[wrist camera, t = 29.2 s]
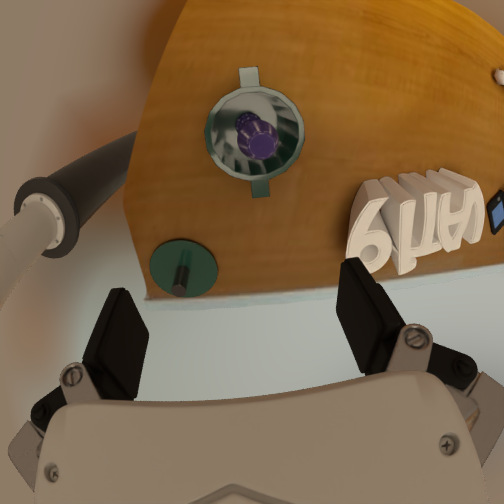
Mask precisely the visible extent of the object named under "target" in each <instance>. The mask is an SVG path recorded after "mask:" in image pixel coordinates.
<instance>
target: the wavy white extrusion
mask: <svg viewBox="0 0 504 504" xmlns="http://www.w3.org/2000/svg"><path fill="white" fill-rule="evenodd" d="M398 180H399V184H398V183H396V182H395V181H394V180H393V179H392V178H391V177H383V178H381V179H380V180H379V181H378V180H377V179H372V180H367V181H364V182H363V184H362V185H361V187H360V188H359V190H358V192H357V194H356V196H355V199H354V202H353V205H352V208H351V213H350V222H349V232H348V241H347V249H346V258H352V257H359V258H360V260H361V261H362V262H363V264H364V265H365V267H366V268H367V270H368V271H369V273H373V272H375V271H377V270H378V269H380V268H381V267H382V266H383V265H384V264H385V263H386V261H387V260H388V259H389V257H390V255H391V257H392V260H393V262H394V264H395V267H396V269H397V272H398V274H399V275H402V274H405V273H407V272H409V271H411V270H412V269H414V268H415V267H416V263H417V261H416V259H415V257H419V256H423V255H427V254H430V253H433V252H436V251H438V250H441V248H442V247H443V248H444V249H445V250H446V251H447V252H450V251H451V250H456V249H458V248H460V244H461V238H462V237H463V238H464V239H465V240H466V241H468V242H469V243H470V244H472V243H475V242H478V241H479V240H480V237H481V234H482V230H483V224H484V213H485V211H484V200H483V195H482V192H481V190H480V187H479V185H478V183H477V182H476V181H474V180H472V179H469V178H467V177H464V176H462V175H459V174H457V173H454V172H452V171H449V170H446V169H444V168H440V170H439V171H438V172H436V171H434V170H427V171H426V178H425V177H423V176H422V175H420V174H418V173H416V172H412V173H409V174H406V173H402V174H399V175H398ZM380 208H381V214H380V211H379V209H380Z"/></svg>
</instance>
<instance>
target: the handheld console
mask: <svg viewBox="0 0 504 504" xmlns="http://www.w3.org/2000/svg"><path fill="white" fill-rule="evenodd" d="M487 210H488V215H489V220H490V225H491V230H492V234H493V235H495V234H496V233H497V232H498V231H499V230H500V229H501V228H502V227H503V225H504V192H503V191H502V190H499V192H498V193H497V194H496V195H495V196H494V198H493V199H492V200H491V201H490V202H489V203H488V205H487Z"/></svg>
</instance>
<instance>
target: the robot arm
mask: <svg viewBox="0 0 504 504" xmlns="http://www.w3.org/2000/svg"><path fill="white" fill-rule="evenodd" d="M64 235H65V221H64V217H63V214H62V212H61V210H60V208H59V207H58V205H57V204H56V203H55V201H54V200H53V199H51V198H50V197H49V196H47V195H45V194H42V193H33V194H31V195H29V196H28V197H27V198H26V199H25V200H24V201H23V203H22V205H21V209H20V212H19V213H18V214H17V215H15V216H14V217H13V218H12V219H11V220H9V221H8V222H7V223H6V224H5V225H4V226H2V227H1V228H0V310H1V308H2V306H3V304H4V302H5V301H6V299H7V297H8V296H9V294H10V293H11V292H12V290H13V289H14V287H15V286H16V285H17V283H18V282H19V281H20V280H21V278H22V277H23V276H24V274H25V273H26V272H27V271H28V269H29V268H30V267H31V266H32V265H33V263H34V262H35V261H36V260H37V258H38V257H39V256H40V255H41V254H42V253H43V252H44V250H45V249H53V248H55V247H57V246H58V245H59V244H60V243H61V242H62V240H63V238H64ZM336 313H337V316H338V318H339V321H340V323H341V326H342V328H343V330H344V333H345V335H346V338H347V340H348V343H349V345H350V347H351V350H352V352H353V355H354V357H355V360H356V362H357V365H358V368H359V370H360V372H361V373H365V376H364V377H359V378H355V379H351V380H346V381H342V382H338V383H333V384H328V385H323V386H318V387H313V388H307V389H302V390H297V391H290V392H284V393H277V394H270V395H262V396H254V397H245V398H234V399H222V400H205V401H175V402H174V401H172V402H169V401H168V402H167V401H165V402H163V401H161V402H160V401H134V398H136V397H137V394H138V388H139V383H140V378H141V373H142V367H143V363H144V358H145V354H146V349H147V345H148V340H149V332H148V330H147V328H146V326H145V324H144V322H143V320H142V318H141V316H140V314H139V312H138V310H137V308H136V305H135V303H134V301H133V299H132V297H131V295H130V293H129V291H128V290H125V288H113V289H111V290H110V293H109V295H108V297H107V299H106V301H105V303H104V306H103V308H102V310H101V313H100V315H99V317H98V320H97V322H96V324H95V327H94V329H93V332H92V334H91V337H90V339H89V342H88V345H87V347H86V349H85V352H84V355H83V358H82V359H83V361H82V364H81V363H79V362H75V363H71V364H69V365H67V366H66V367H65V368H64V369H63V370H62V372H61V374H60V379H59V380H60V386H59V387H57V388H56V389H54V390H53V391H52V392H50V393H49V394H47V395H46V396H45V397H43V398H42V399H41V400H39V401H38V402H37V403H36V404H35V405H34V406H33V408H32V410H31V421H27V422H26V423H25V424H24V426H23V427H22V428H21V430H20V431H19V432H18V433H17V435H16V436H15V437H14V439H13V440H12V441H11V443H10V445H9V448H8V455H9V457H10V459H11V461H12V463H13V464H14V466H15V467H16V469H17V470H18V472H19V473H20V474H21V476H22V477H23V478H24V480H25V481H26V483H27V484H28V485H29V487H30V488H31V489H32V490H33V492H34V493H35V494H34V504H489V498H488V493H487V489H486V484H485V480H484V476H483V472H482V466H483V464H484V463H485V461H486V460H487V458H488V456H489V455H490V453H491V451H492V449H493V447H494V446H495V444H496V442H497V440H498V438H499V436H500V434H501V432H502V430H503V428H504V387H503V386H502V385H500V384H499V383H498V382H496V381H495V380H494V379H492V378H491V377H490V376H488V375H487V374H486V373H484V372H483V371H482V372H481V373H479V372H478V369H477V365H476V363H475V361H474V360H473V359H472V358H471V357H470V356H468V355H466V354H463V353H460V352H458V351H455V350H452V349H449V348H447V347H444V346H441V345H439V344H436V343H433V337H432V334H431V333H430V331H429V330H428V329H427V328H426V327H424V326H422V325H420V324H409V325H406V324H405V322H404V320H403V319H402V317H401V316H400V314H399V313H398V311H397V309H396V307H395V306H394V304H393V303H392V301H391V300H390V298H389V297H388V295H387V293H386V292H385V290H384V289H383V287H382V286H381V285H380V284H379V283H376V282H375V280H374V279H373V277H372V276H371V274H370V273H369V271H368V270H367V268H366V267H365V265H364V264H363V262H362V261H361V260H360V258H359V257H352V258H346V259H345V261H344V262H342V263H341V268H340V278H339V287H338V296H337V304H336Z"/></svg>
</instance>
